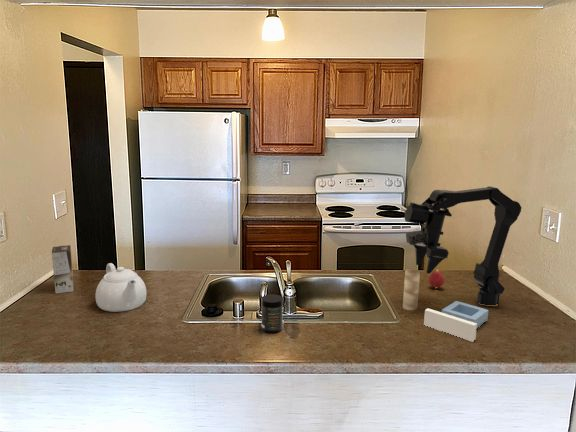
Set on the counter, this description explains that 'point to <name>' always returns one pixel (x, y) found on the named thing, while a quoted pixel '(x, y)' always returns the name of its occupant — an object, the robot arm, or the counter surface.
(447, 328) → the white base plate
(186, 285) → the counter surface
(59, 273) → the coffee box
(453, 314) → the socket block
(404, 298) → the dowel
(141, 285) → the teapot
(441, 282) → the onion
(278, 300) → the supplement container
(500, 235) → the robot arm
